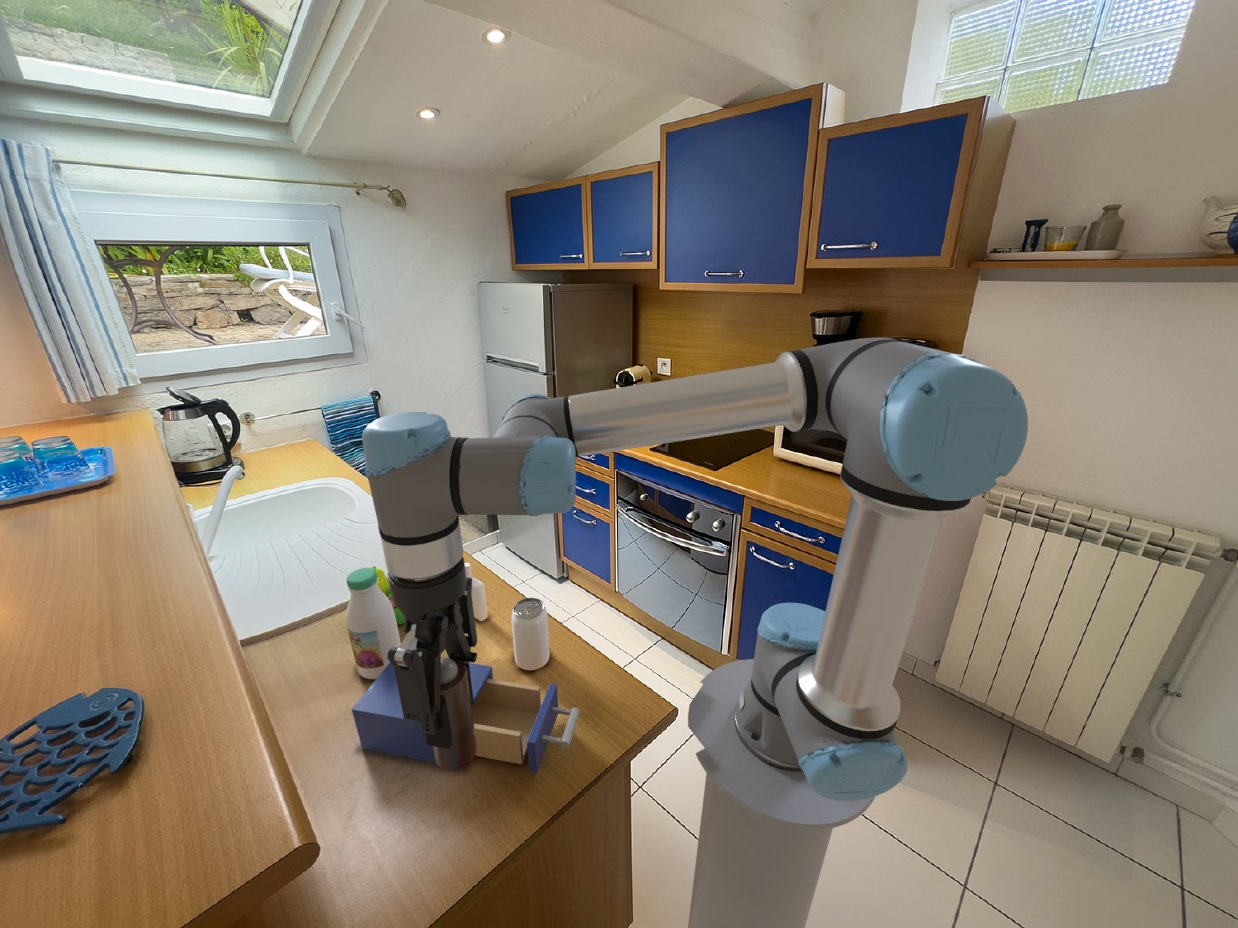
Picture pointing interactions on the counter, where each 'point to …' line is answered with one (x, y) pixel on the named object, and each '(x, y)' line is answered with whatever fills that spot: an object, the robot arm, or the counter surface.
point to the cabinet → (399, 717)
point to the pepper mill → (456, 717)
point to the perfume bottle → (477, 595)
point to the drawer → (518, 722)
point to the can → (530, 634)
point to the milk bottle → (370, 623)
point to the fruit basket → (387, 593)
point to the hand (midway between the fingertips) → (451, 722)
